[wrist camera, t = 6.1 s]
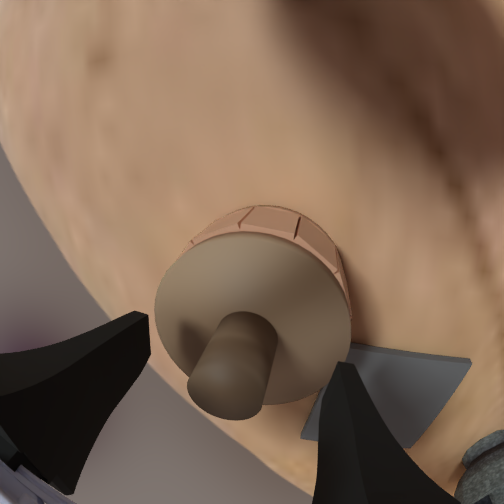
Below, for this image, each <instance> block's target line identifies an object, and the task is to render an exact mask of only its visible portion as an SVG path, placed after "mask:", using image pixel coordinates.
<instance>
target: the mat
mask: <svg viewBox="0 0 504 504" xmlns="http://www.w3.org/2000/svg"><path fill="white" fill-rule="evenodd" d="M345 362H346V363H352V364H354V365H355V366H356V368H357V371H358V373H359V375H360V377H361V379H362V381H363V383H364V385H365V387H366V389H367V391H368V393H369V395H370V397H371V399H372V401H373V403H374V405H375V407H376V408H377V410H378V412H379V414H380V416H381V417H382V419H383V421H384V422H385V424H386V426H387V427H388V429H389V430H390V432H391V433H392V435H393V436H394V438H395V439H396V440H397V442H398V443H399V444H400V446H401V447H402V448H411V447H412V446H413V445H414V444H415V442H416V441H417V440H418V439H419V438H420V437H421V435H422V434H423V433H424V432H425V430H426V429H427V428H428V427H429V426H430V424H431V423H432V422H433V420H434V419H435V418H436V417H437V415H438V414H439V413H440V411H441V410H442V409H443V407H444V406H445V404H446V403H447V402H448V400H449V399H450V397H451V396H452V395H453V393H454V392H455V390H456V389H457V387H458V386H459V384H460V383H461V381H462V380H463V378H464V377H465V375H466V373H467V372H468V370H469V369H470V367H471V365H472V362H471V360H470V359H468V358H458V357H449V356H440V355H432V354H424V353H416V352H409V351H401V350H395V349H388V348H381V347H375V346H369V345H363V344H357V343H351V342H350V348H349V352H348V354H347V357H346V360H345ZM328 384H329V383H328ZM328 384H326V385H325V386H324V387H322V388H321V390H320V392H319V394H318V397H317V399H316V401H315V404H314V406H313V408H312V410H311V413H310V415H309V417H308V419H307V421H306V423H305V426H304V428H303V430H302V432H301V437H300V439H306V440H313V441H318V433H319V417H320V409H321V403H322V397H323V395H324V393H325V391H326V388H327V386H328Z"/></svg>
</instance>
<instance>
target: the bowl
mask: <svg viewBox="0 0 504 504" xmlns="http://www.w3.org/2000/svg"><path fill="white" fill-rule="evenodd" d="M239 231H251V232H261V233H267V234H272V235H275V236H279V237H282V238H285V239H288V240H290V241H292V242H294V243H296V244H299V245H300V246H302V247H303V248H305V249H307V250H308V251H310V252H311V253H313V254H314V255H315V256H316V257H318V258H319V259H320V260H321V261H322V262H323V263H324V264H325V265H326V266H327V267H328V268H329V269H330V270H331V271H332V273H333V274H334V276H335V277H336V279H337V280H338V281H339V283H340V285H341V287H342V289H343V291H344V294H345V297H346V300H347V303H348V308H349V315H350V323H351V320H352V312H351V305H350V298H349V292H348V286H347V281H346V278H345V274H344V271H343V267H342V262H341V258H340V256H339V253H338V250H337V248H336V246H335V244H334V243H333V241H332V240H331V239H330V237H329V236H328V235H327V233H326V232H325V231H324V230H323V229H322V228H321V227H320V226H319V225H318V224H316V223H315V222H314V221H312V220H311V219H309V218H308V217H306V216H304V215H302V214H301V213H298V212H296V211H293V210H291V209H287V208H283V207H279V206H271V205H258V206H251V207H246V208H243V209H239V210H237V211H235V212H232V213H230V214H228V215H227V216H225V217H223V218H220V219H217V220H216V221H214V222H213V223H212V224H210V225H209V226H208V227H207V228H205V229H204V230H203V231H202V232H200V233H199V234H198V235H197V236H196V237H194V238H193V239H192V240H191V241H190V242H189V243H188V244H187V246H186V247H185V249H184V250H183V251H182V253H181V254H180V256H179V257H178V258H177V260H178V259H179V258H180V257H181V256H182V255H183V254H184V253H186V252H187V251H188V250H189V249H191V248H192V247H193V246H195V245H196V244H198V243H200V242H202V241H203V240H206V239H208V238H211V237H213V236H216V235H220V234H224V233H229V232H239ZM177 260H176V261H177Z"/></svg>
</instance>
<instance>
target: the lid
mask: <svg viewBox="0 0 504 504" xmlns="http://www.w3.org/2000/svg"><path fill="white" fill-rule="evenodd" d="M154 311H155V322H156V326H157V331H158V333H159V336H160V339H161V341H162V343H163V345H164V347H165V349H166V351H167V352H168V354H169V356H170V357H171V359H172V360H173V361H174V362H175V363H176V365H177V366H178V367H179V368H180V369H181V370H182V371H183V372H184V373H185V374H186V375H187V376H188V377H190V378H189V380H188V383H187V389H188V393H189V395H190V397H191V399H192V400H193V401H194V402H195V403H196V405H198V406H199V407H200V408H201V409H203V410H204V411H206V412H207V413H209V414H211V415H213V416H216V417H219V418H222V419H227V420H245V419H249V418H251V417H253V416H255V415H256V414H257V413H259V411H260V410H261V408H262V405H275V404H283V403H289V402H292V401H296V400H299V399H302V398H304V397H307V396H309V395H311V394H313V393H315V392H317V391H318V390H320V389H321V388H322V387H324V386H325V385H326V384H328V383H329V381H330V379H331V377H332V374H333V372H334V369H335V367H336V364H337V362H338V361H340V362H345V360H346V357H347V354H348V352H349V348H350V342H351V323H350V315H349V308H348V303H347V300H346V297H345V294H344V291H343V289H342V287H341V285H340V283H339V281H338V280H337V279H336V277H335V276H334V274H333V273H332V271H331V270H330V269H329V268H328V267H327V266H326V265H325V264H324V263H323V262H322V261H321V260H320V259H319V258H318V257H316V256H315V255H314V254H313V253H311V252H310V251H308V250H307V249H305V248H303V247H302V246H300V245H299V244H296V243H294V242H292V241H290V240H288V239H285V238H282V237H279V236H275V235H272V234H267V233H261V232H251V231H239V232H229V233H224V234H220V235H216V236H213V237H211V238H208V239H206V240H203V241H202V242H200V243H198V244H196V245H195V246H193V247H192V248H191V249H189V250H188V251H187V252H186V253H184V254H183V255H182V256H181V257H180V258H179V259H178V260H177V261H175V263H174V264H173V265H172V266H171V267H170V268H169V269H168V270H167V272H166V273H165V275H164V277H163V278H162V280H161V282H160V285H159V287H158V290H157V294H156V298H155V308H154Z"/></svg>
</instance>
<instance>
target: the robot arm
mask: <svg viewBox="0 0 504 504" xmlns="http://www.w3.org/2000/svg"><path fill="white" fill-rule="evenodd" d="M150 355H151V349H150V335H149V318H148V315H147V314H144V313H141V312H138V311H133V312H130V313H128V314H126V315H123V316H121V317H119V318H117V319H115V320H113V321H110V322H108V323H106V324H104V325H102V326H100V327H97V328H95V329H93V330H91V331H88V332H86V333H83V334H81V335H78V336H76V337H73V338H71V339H68V340H65V341H62V342H59V343H56V344H52V345H49V346H45V347H41V348H37V349H32V350H27V351H21V352H13V353H4V354H0V504H44V502H45V503H46V504H76V503H75V502H73V501H71V500H70V499H68V498H66V497H65V496H63V495H62V494H60V493H59V492H57V491H56V490H55V489H57V490H58V491H60V492H61V493H63V494H64V495H71V494H74V491H75V488H76V485H77V482H78V480H79V477H80V474H81V472H82V469H83V467H84V464H85V462H86V460H87V458H88V455H89V453H90V451H91V449H92V447H93V445H94V443H95V441H96V439H97V437H98V435H99V433H100V431H101V430H102V428H103V426H104V424H105V423H106V421H107V419H108V418H109V416H110V414H111V413H112V412H113V410H114V409H115V407H116V406H117V405H118V403H119V402H120V401H121V399H122V398H123V397H124V395H125V394H126V393H127V391H128V390H129V389H130V387H131V386H132V385H133V383H134V382H135V380H136V379H137V378H138V377H139V375H140V374H141V372H142V370H143V368H144V367H145V365H146V363H147V361H148V359H149V357H150ZM41 479H42V480H43V481H44V482H43V481H42V480H41ZM45 482H46V483H47V484H50V485H51V486H52V487H54V488H55V489H53V488H52V487H50V486H49V485H47V484H46V483H45ZM312 504H461V502H460V501H458V500H457V499H455V498H454V497H453V496H451V495H450V494H449V493H447V492H446V491H445V490H443V489H442V488H441V487H439V486H438V485H437V484H436V483H435V482H434V481H433V480H432V479H430V478H429V477H428V476H427V475H426V474H425V473H424V472H423V471H422V470H421V469H420V468H419V467H418V466H417V465H416V463H415V462H414V461H413V460H412V459H411V458H410V457H409V456H408V454H407V453H406V452H405V451H404V450H403V448H402V447H401V446H400V444H399V443H398V442H397V440H396V439H395V438H394V436H393V435H392V433H391V432H390V430H389V429H388V427H387V426H386V424H385V422H384V421H383V419H382V417H381V416H380V414H379V412H378V410H377V408H376V407H375V405H374V403H373V401H372V399H371V397H370V395H369V393H368V391H367V389H366V387H365V385H364V383H363V381H362V379H361V377H360V375H359V373H358V371H357V368H356V366H355V365H354V364H352V363H346V362H340V361H338V362H337V364H336V367H335V369H334V372H333V374H332V377H331V379H330V381H329V384H328V386H327V388H326V391H325V393H324V395H323V397H322V403H321V409H320V417H319V433H318V465H317V478H316V485H315V491H314V496H313V501H312Z"/></svg>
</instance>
